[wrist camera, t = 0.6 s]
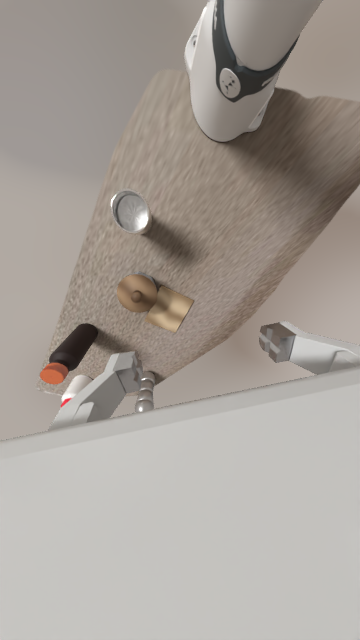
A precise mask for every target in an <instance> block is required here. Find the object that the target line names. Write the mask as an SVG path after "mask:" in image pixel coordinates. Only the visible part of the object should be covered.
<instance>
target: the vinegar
mask: <svg viewBox="0 0 360 640" xmlns="http://www.w3.org/2000/svg"><path fill="white" fill-rule="evenodd" d="M97 334H98V332H97V329H96V328H95V327H94V326H92V325H90V324H80V325H79V326H78V327H77V328H76V329H75V330H74V331H73V332H72V333H71V334H70V335H69V336H68V337H67V338H66V339H65V340H64V342H63V343H62V344H61V345H60V346H59V347H58V348H57V349H56V350H55V351H54V352H53V353H52V354H51V356H50V358H49V362H50V363H49V364H48V365H47V366H46V367H45V368H44V369H43V370H42V372H41V373H40V377H41V379H42V380H43V381H45V382H47V383H50V384H59V383H61V382H63V380H64V379H65V377H66V376H67V374H68V373H69V371H72V370H74V369H75V368H77V366H78V365H79V363H80V362H81V360H82V359H83V357H84V355H85V354H86V352H87V351H88V349H89V348H90V346H91V345H92V343H93V342H94V340H95V339H96V337H97Z"/></svg>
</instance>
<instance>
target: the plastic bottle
mask: <svg viewBox="0 0 360 640" xmlns="http://www.w3.org/2000/svg"><path fill="white" fill-rule="evenodd" d="M140 378H141V381H142V382H141V389H140V390H139V394H138V398H137V401H136V405H135V412H136V413H137V412H141V411H146V410H151V409H154V403H153V388H154V384H155V376H154V374H153V373H152V372H148V371H147V372H144V373H143V374H142V376H141V377H140Z"/></svg>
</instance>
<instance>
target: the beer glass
mask: <svg viewBox="0 0 360 640" xmlns="http://www.w3.org/2000/svg"><path fill="white" fill-rule="evenodd" d="M111 213H112V217H113V219H114V221H115V223H116V224H117V225H118V227H119V228H121V229H122V230H123V231H125V232H127V233H129V234H132V235H141V234H145V233H147V232H148V231H149V230H150V228H151V226H152V214H151V210H150V207H149V205H148V203H147V202H146V200H145V199H144V198H143V196H142V195H141V194H140V193H138V192H137V191H135V190H133V189H128V188H126V189H121V190H119V191H118V192H117V193H116V194H115V195H114V197H113V199H112V202H111Z"/></svg>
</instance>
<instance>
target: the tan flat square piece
mask: <svg viewBox="0 0 360 640" xmlns="http://www.w3.org/2000/svg"><path fill="white" fill-rule="evenodd" d="M193 302H194V300H192V299H190V298H188V297H186V296H183V295H181V294H179V293H177V292H175V291H173V290H171V289H169V288H167V287H165V286H163V285H161V287H160V289H159V291H158V293H157V301H156V303H155V305H154V306H153V307H152V308H151V309H150V310H149V312H148V314H147V317H146V319H145V322H148V323H151V324H153V325H156V326H159V327H161V328H164V329H166V330H169V331H172V332H174V333H175V332H176V331H177V329H178V327H179V325H180V324H181V322H182V320H183V319H184V317H185V315H186V314H187V312H188V310H189V308H190V307H191V305H192V303H193Z"/></svg>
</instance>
